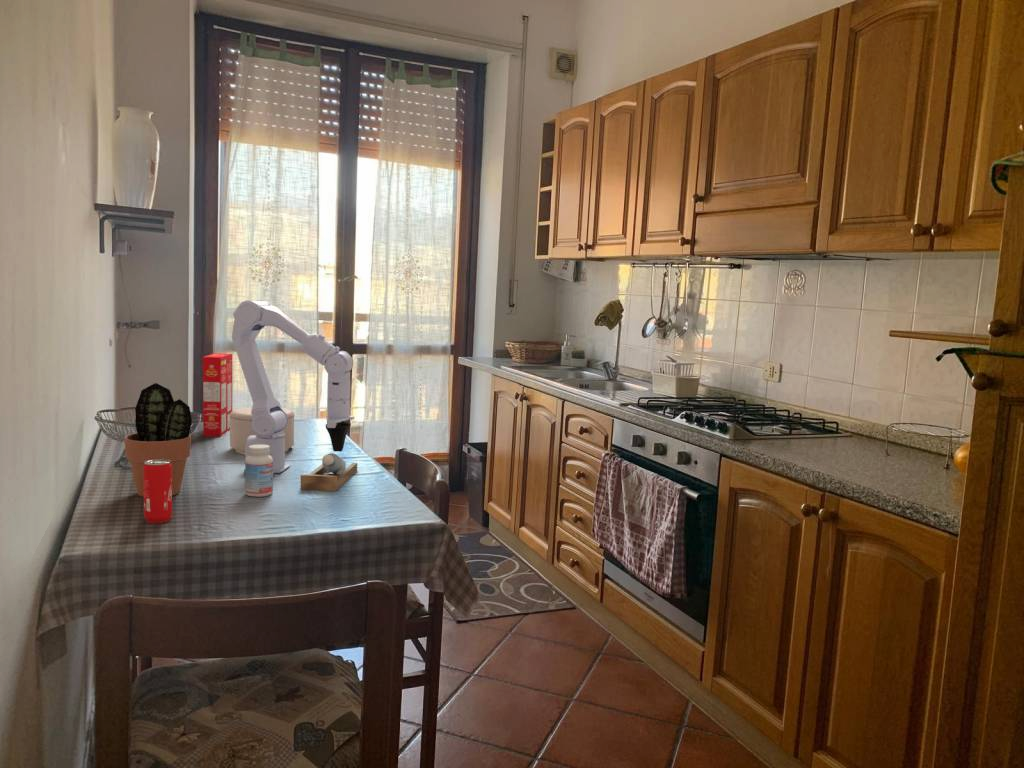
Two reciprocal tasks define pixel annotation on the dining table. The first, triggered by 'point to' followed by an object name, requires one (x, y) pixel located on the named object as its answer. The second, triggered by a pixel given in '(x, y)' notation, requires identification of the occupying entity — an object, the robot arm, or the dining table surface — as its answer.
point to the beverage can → (157, 490)
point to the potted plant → (159, 434)
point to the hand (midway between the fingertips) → (337, 450)
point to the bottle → (333, 463)
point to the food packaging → (217, 393)
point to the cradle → (326, 479)
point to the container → (243, 428)
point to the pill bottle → (259, 471)
